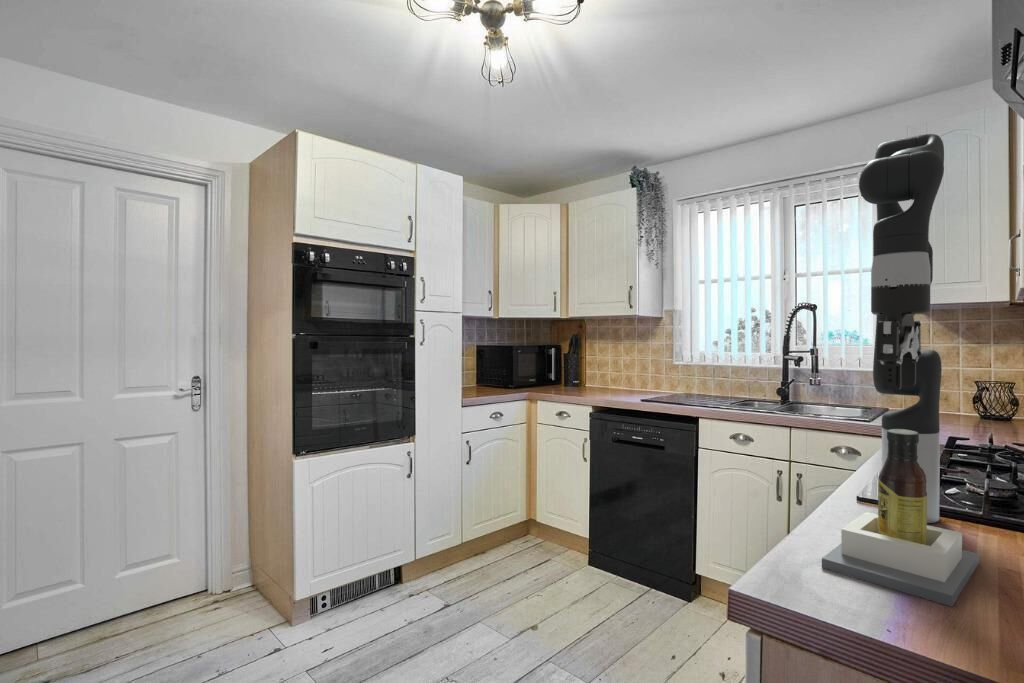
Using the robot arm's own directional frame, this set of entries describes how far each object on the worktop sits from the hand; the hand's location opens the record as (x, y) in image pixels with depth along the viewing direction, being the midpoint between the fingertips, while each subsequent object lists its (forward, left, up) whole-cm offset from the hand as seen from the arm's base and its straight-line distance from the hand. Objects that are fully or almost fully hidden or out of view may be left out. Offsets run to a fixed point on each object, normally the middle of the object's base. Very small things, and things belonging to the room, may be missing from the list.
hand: (899, 387), depth 84 cm
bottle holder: (0, 0, -28) cm, 28 cm away
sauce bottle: (0, 0, -27) cm, 27 cm away
